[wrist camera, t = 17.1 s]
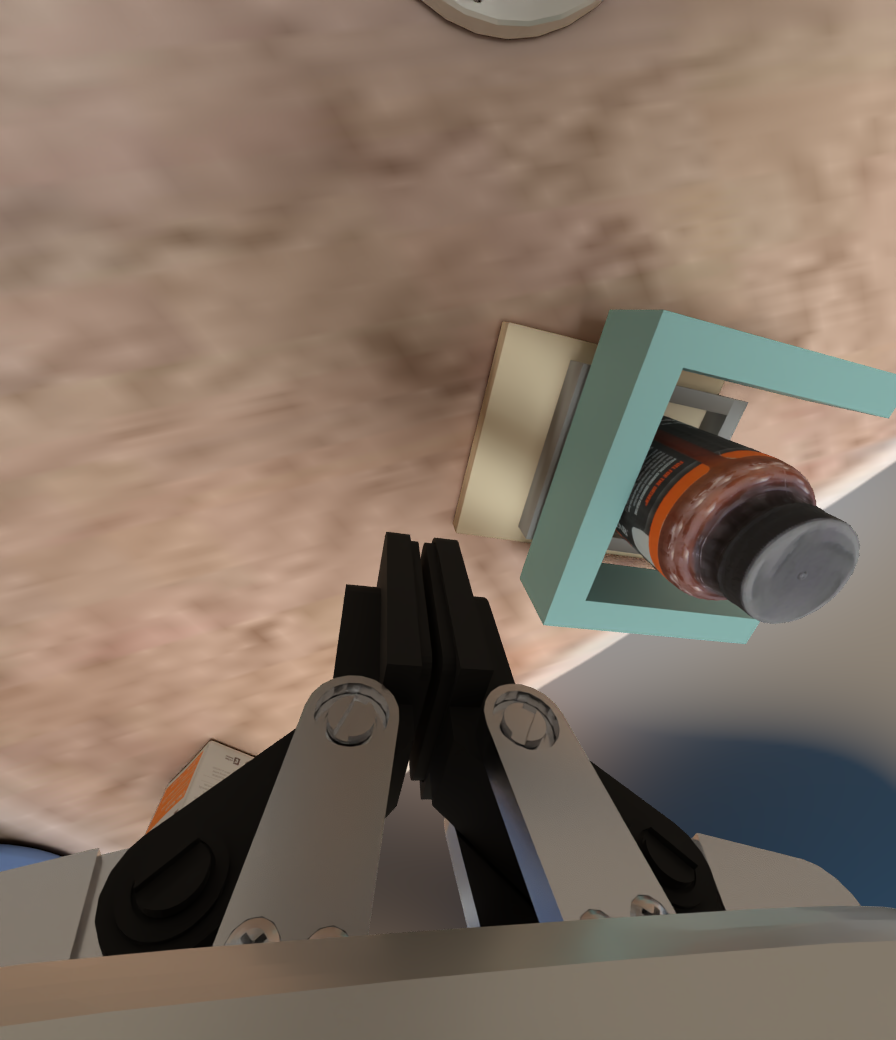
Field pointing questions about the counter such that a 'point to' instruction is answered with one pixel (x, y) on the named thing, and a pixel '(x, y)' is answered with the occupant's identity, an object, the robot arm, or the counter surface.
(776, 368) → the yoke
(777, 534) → the supplement bottle
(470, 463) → the housing base
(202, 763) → the skincare box
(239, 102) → the counter surface
